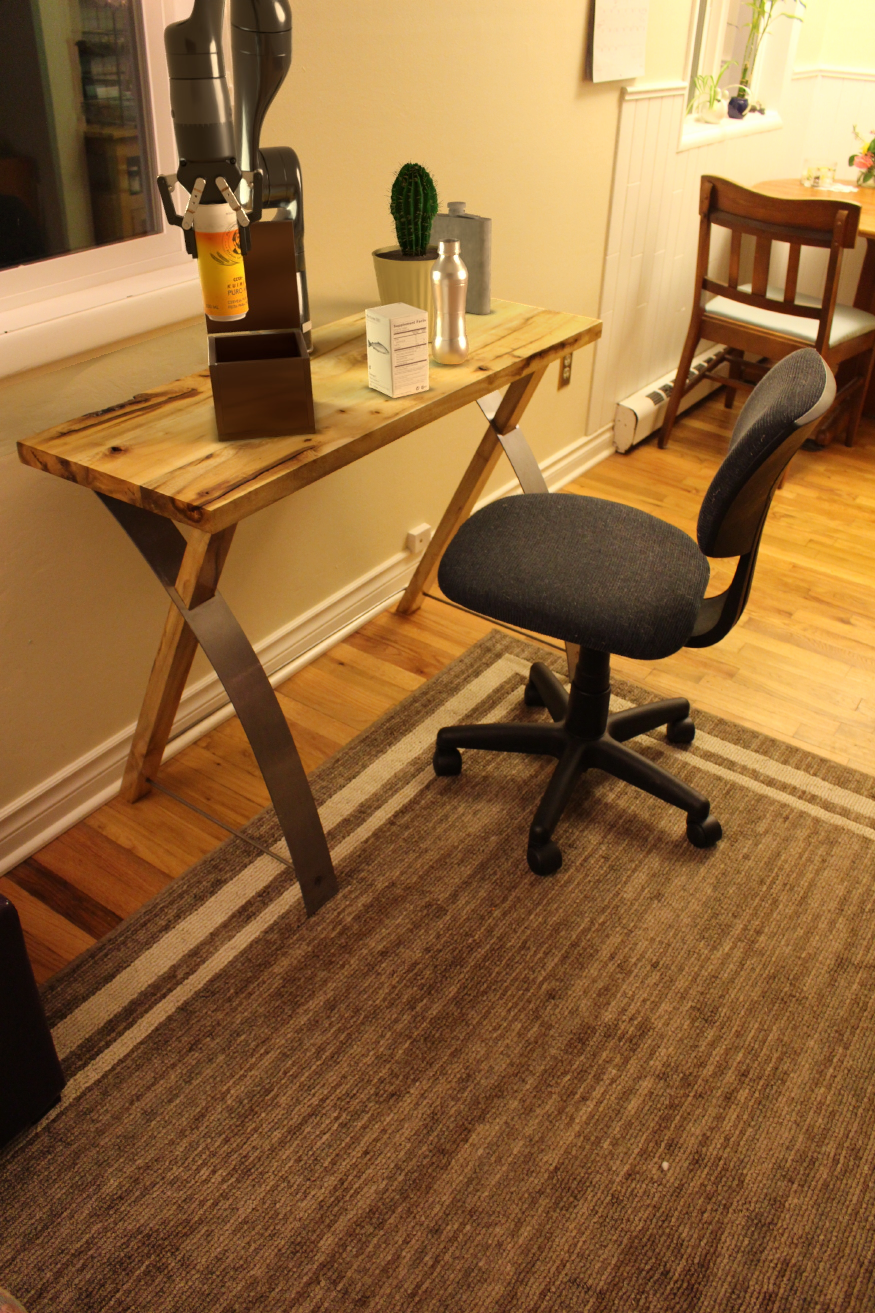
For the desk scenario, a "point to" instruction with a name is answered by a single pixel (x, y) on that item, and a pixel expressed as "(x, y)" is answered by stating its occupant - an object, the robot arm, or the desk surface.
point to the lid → (267, 281)
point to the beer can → (220, 262)
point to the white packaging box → (397, 349)
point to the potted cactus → (410, 243)
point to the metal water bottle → (449, 304)
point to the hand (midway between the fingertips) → (219, 255)
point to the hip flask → (469, 251)
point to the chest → (261, 385)
